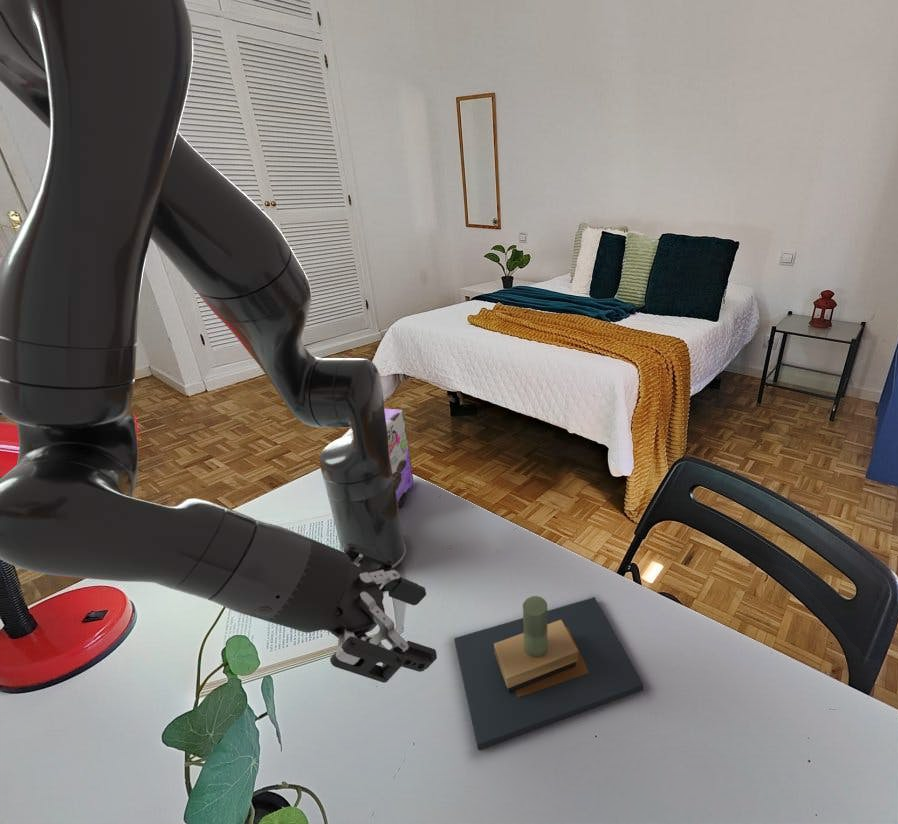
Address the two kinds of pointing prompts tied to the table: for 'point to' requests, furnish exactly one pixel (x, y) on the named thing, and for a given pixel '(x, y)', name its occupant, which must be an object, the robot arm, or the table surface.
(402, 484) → the candy box
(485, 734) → the desk mat
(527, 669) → the brush
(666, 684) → the table surface
